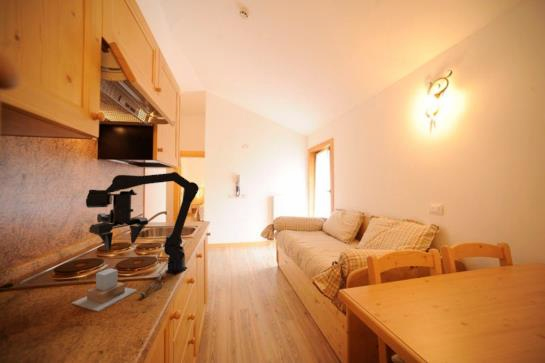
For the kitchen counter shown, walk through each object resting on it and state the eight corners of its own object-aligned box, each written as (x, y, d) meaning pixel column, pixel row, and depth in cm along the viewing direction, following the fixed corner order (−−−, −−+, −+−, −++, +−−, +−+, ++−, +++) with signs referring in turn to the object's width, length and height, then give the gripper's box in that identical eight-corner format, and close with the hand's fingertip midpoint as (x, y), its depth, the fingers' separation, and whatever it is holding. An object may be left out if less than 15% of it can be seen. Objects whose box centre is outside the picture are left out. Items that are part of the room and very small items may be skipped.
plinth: (110, 288, 71) (110, 280, 71) (124, 292, 68) (125, 283, 69) (87, 299, 64) (87, 290, 64) (101, 304, 62) (102, 294, 62)
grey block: (109, 282, 69) (109, 268, 69) (117, 284, 68) (117, 270, 68) (95, 288, 65) (96, 273, 65) (104, 290, 64) (104, 275, 64)
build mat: (113, 285, 74) (113, 284, 74) (137, 291, 70) (137, 290, 70) (72, 303, 62) (72, 302, 62) (98, 311, 59) (98, 310, 59)
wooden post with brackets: (166, 283, 74) (162, 274, 73) (148, 303, 67) (143, 293, 66) (162, 282, 75) (158, 273, 73) (144, 302, 68) (139, 292, 66)
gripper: (130, 203, 90) (129, 238, 90) (79, 208, 72) (78, 251, 72) (149, 204, 87) (148, 241, 86) (100, 210, 69) (99, 255, 69)
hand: (121, 246), depth 78 cm, fingers open, 9 cm apart
